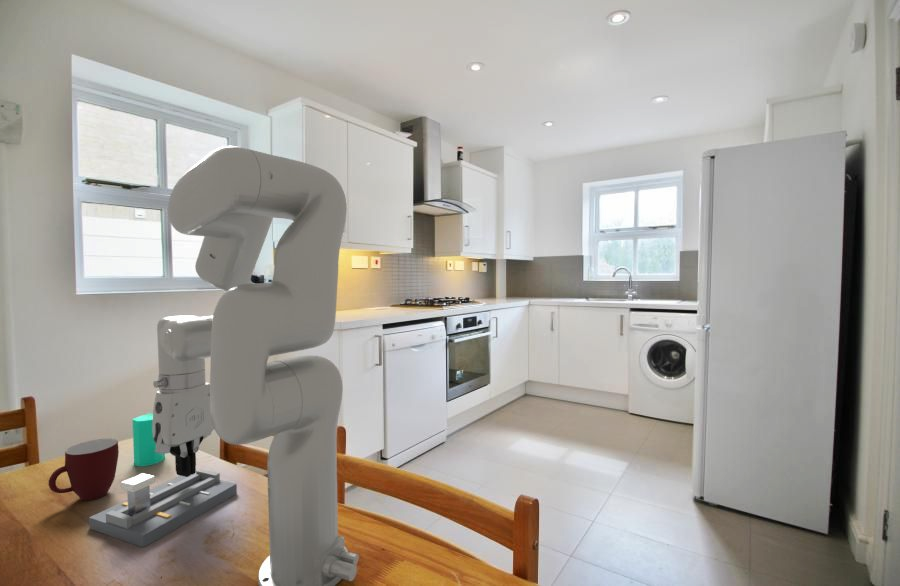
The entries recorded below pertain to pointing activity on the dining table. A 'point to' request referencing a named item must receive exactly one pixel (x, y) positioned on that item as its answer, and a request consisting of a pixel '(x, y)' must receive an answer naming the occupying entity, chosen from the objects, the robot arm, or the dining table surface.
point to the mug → (89, 468)
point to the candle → (144, 441)
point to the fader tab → (138, 492)
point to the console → (165, 508)
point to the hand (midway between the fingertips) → (186, 473)
